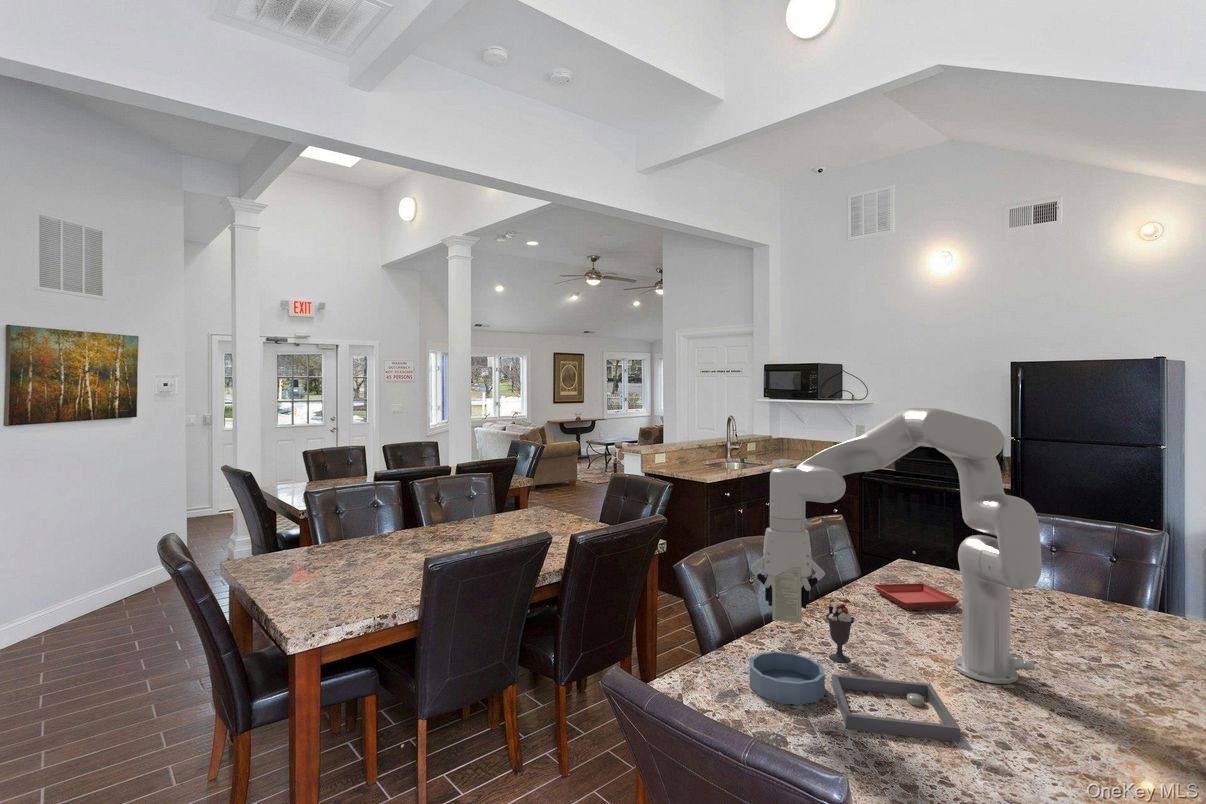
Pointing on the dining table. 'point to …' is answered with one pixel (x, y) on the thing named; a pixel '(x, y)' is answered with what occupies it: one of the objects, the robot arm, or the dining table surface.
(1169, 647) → the dining table surface
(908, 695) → the pebble
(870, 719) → the gray rectangular frame
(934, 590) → the plant saucer
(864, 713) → the pebble
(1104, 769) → the dining table surface
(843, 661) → the sundae
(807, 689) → the bowl
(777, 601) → the skincare box
